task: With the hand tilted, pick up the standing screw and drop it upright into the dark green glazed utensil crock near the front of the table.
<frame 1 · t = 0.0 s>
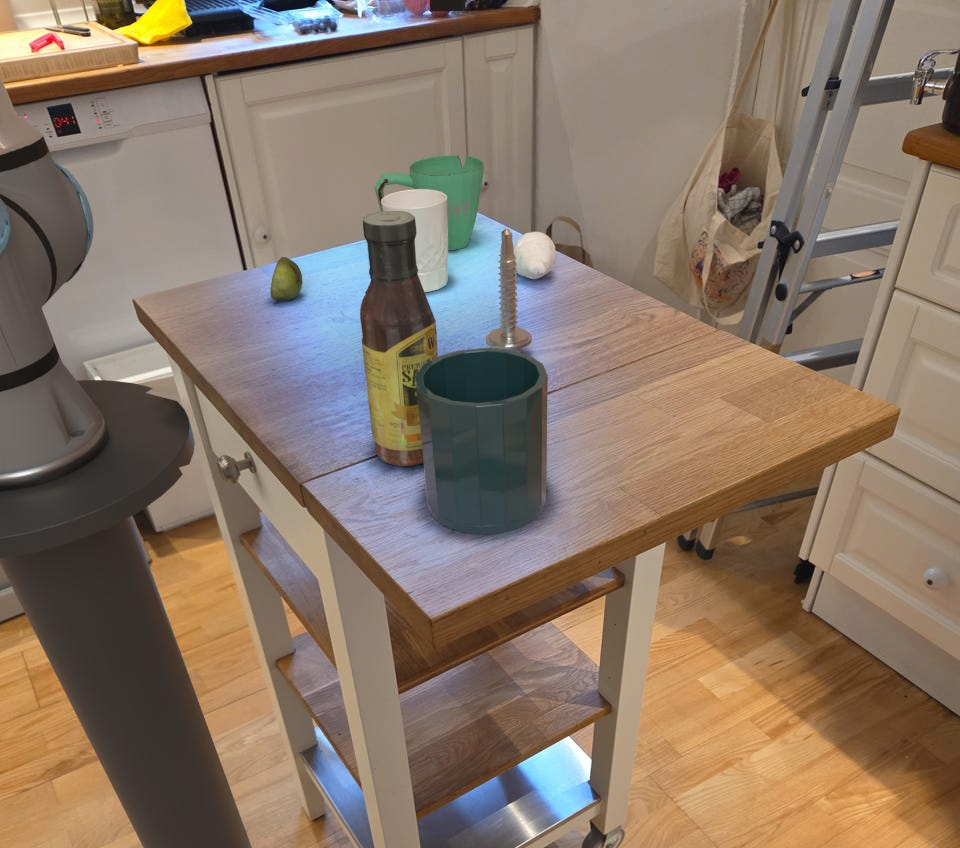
hand: (470, 0, 74), 31 cm above the kitchen island, tool pointing down, fingers open, 13 cm apart
sauce bottle: (410, 453, 80), on the kitchen island
white cup: (421, 285, 111), on the kitchen island
crock: (486, 500, 73), on the kitchen island
garlic bulb: (535, 283, 110), on the kitchen island
lime: (288, 301, 109), on the kitchen island
screw: (509, 358, 94), on the kitchen island
mug: (434, 247, 122), on the kitchen island
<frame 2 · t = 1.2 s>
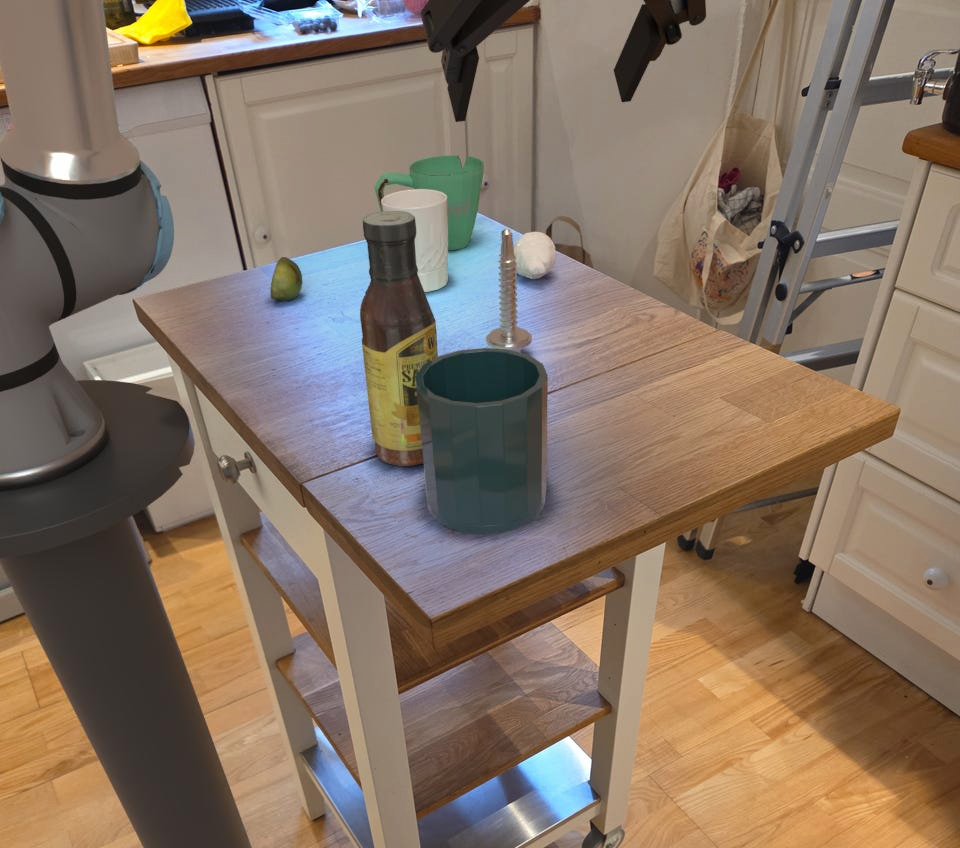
hand: (540, 95, 68), 26 cm above the kitchen island, tool tilted 45°, fingers open, 13 cm apart
nothing on the kitchen island moved.
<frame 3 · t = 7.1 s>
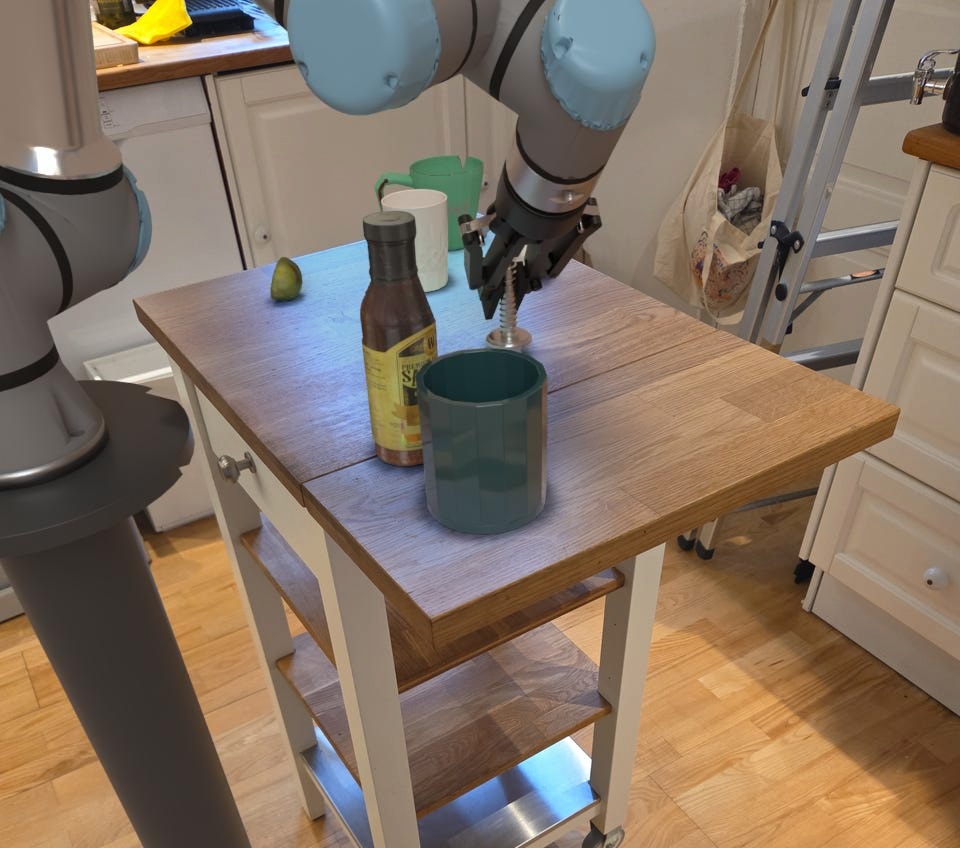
hand: (497, 305, 94), 4 cm above the kitchen island, tool tilted 45°, fingers closed on screw, 2 cm apart
screw: (509, 358, 94), on the kitchen island, touching gripper
everything else where it was.
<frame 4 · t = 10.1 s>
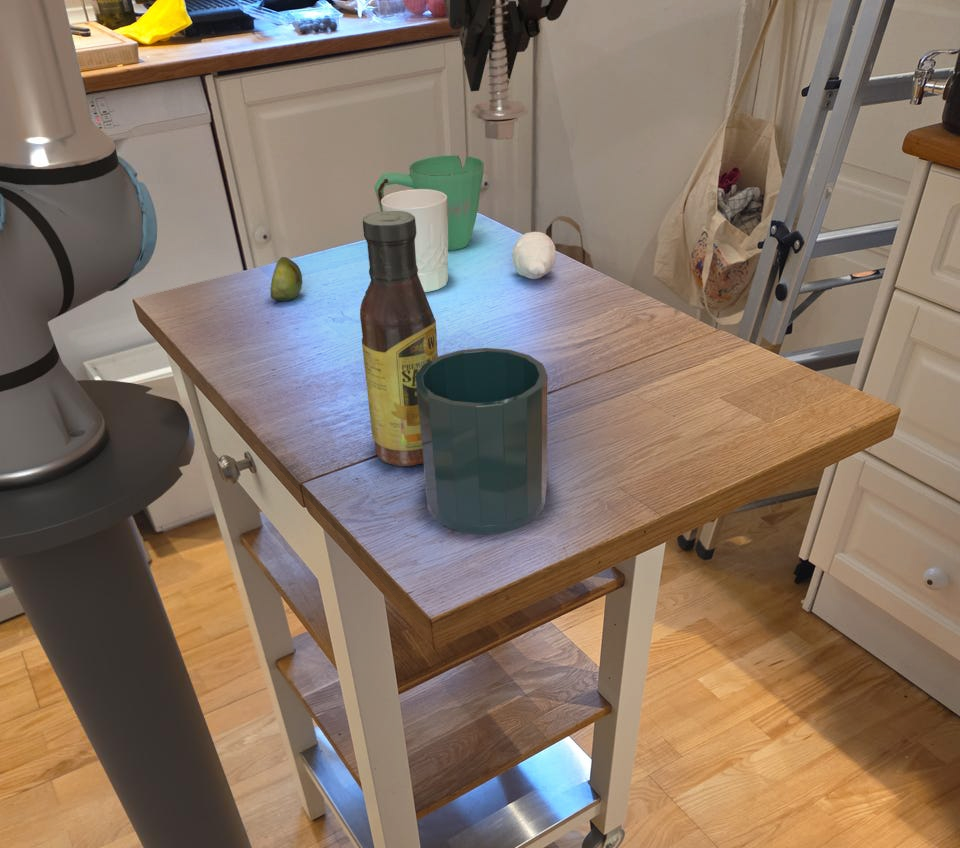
hand: (485, 74, 77), 26 cm above the kitchen island, tool tilted 45°, fingers closed on screw, 2 cm apart
screw: (499, 139, 78), point 21 cm above the kitchen island, touching gripper
everything else where it was.
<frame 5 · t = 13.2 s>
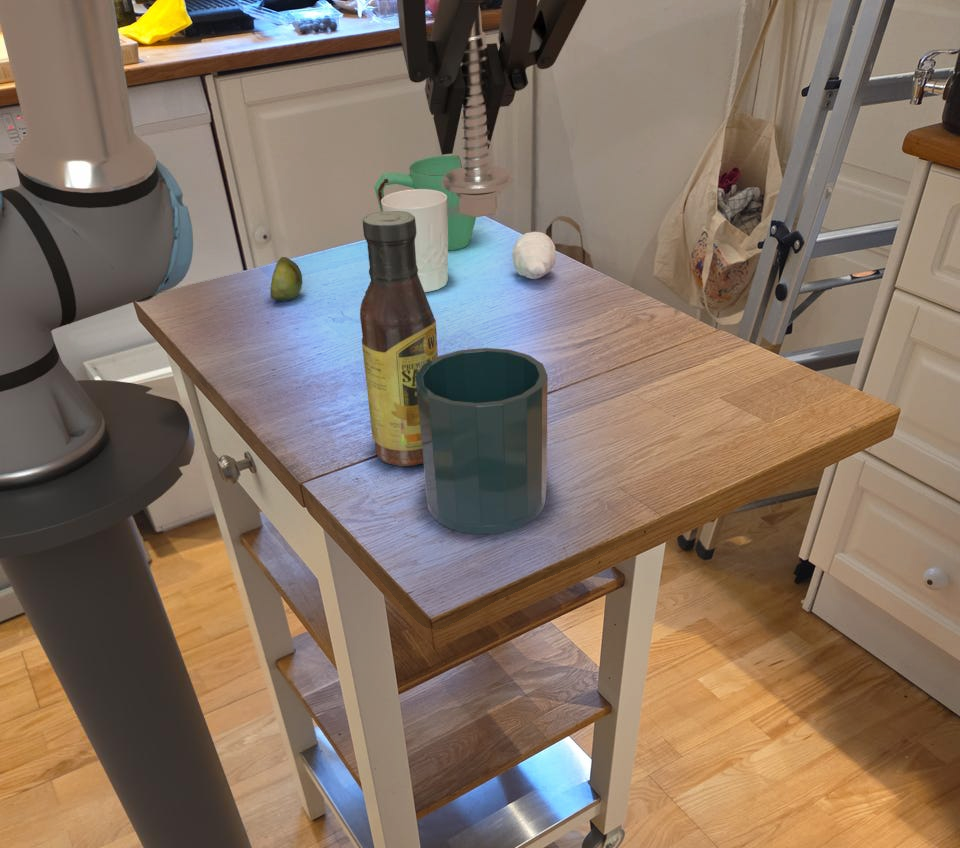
hand: (461, 133, 61), 26 cm above the kitchen island, tool tilted 45°, fingers closed on screw, 2 cm apart
screw: (479, 214, 61), point 21 cm above the kitchen island, touching gripper
everything else where it was.
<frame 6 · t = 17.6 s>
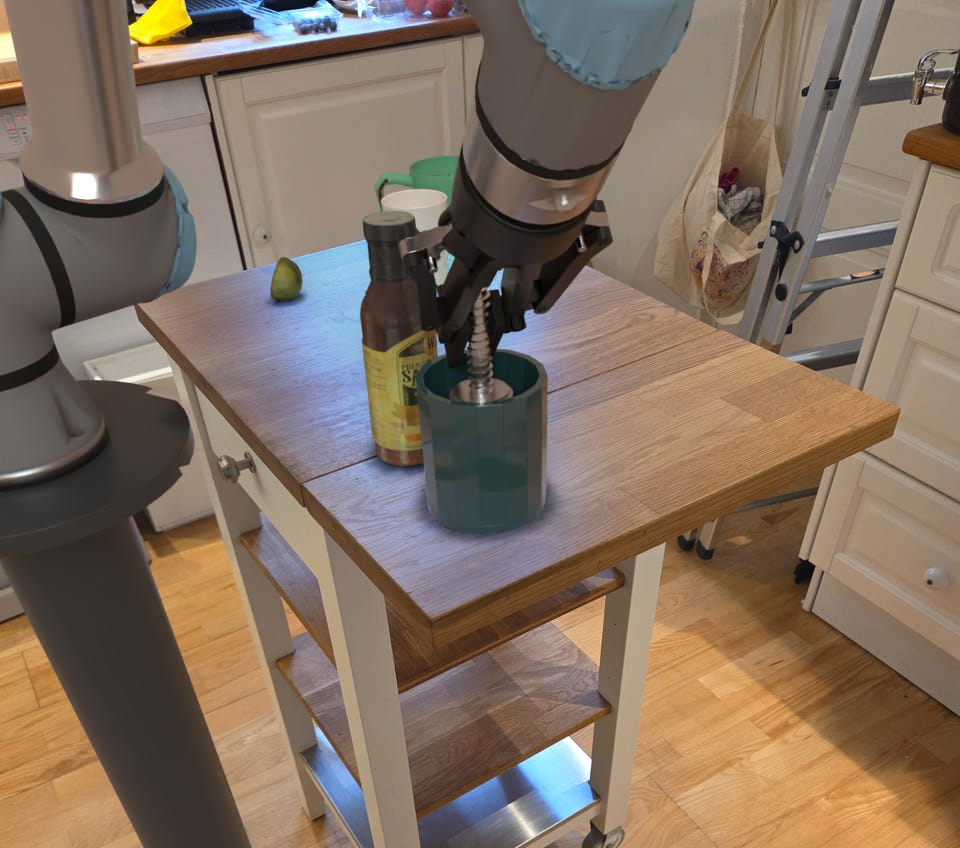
hand: (466, 347, 68), 12 cm above the kitchen island, tool tilted 45°, fingers closed on screw, 2 cm apart
screw: (482, 421, 68), point 7 cm above the kitchen island, touching gripper
everything else where it was.
when the fingers open (13 cm above the kitchen island, at t = 19.4 s): screw drops 8 cm, resting on crock.
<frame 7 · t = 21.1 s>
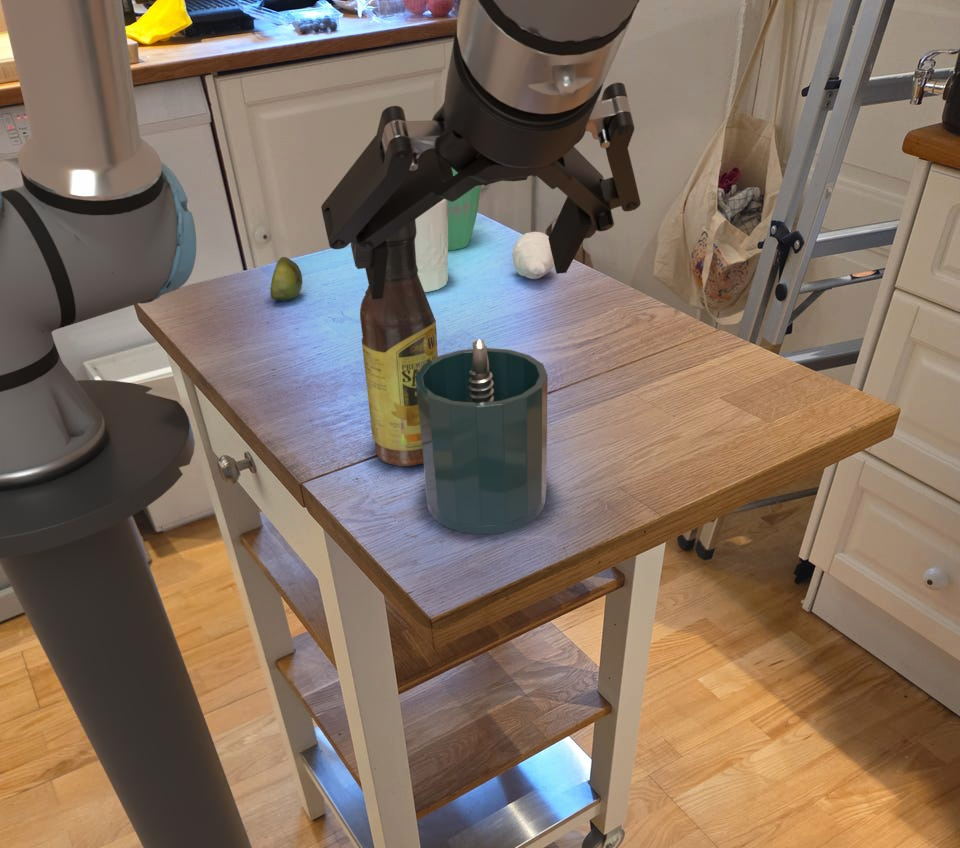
hand: (466, 268, 63), 18 cm above the kitchen island, tool tilted 45°, fingers open, 13 cm apart
screw: (485, 494, 73), point 1 cm above the kitchen island, touching crock
everything else where it was.
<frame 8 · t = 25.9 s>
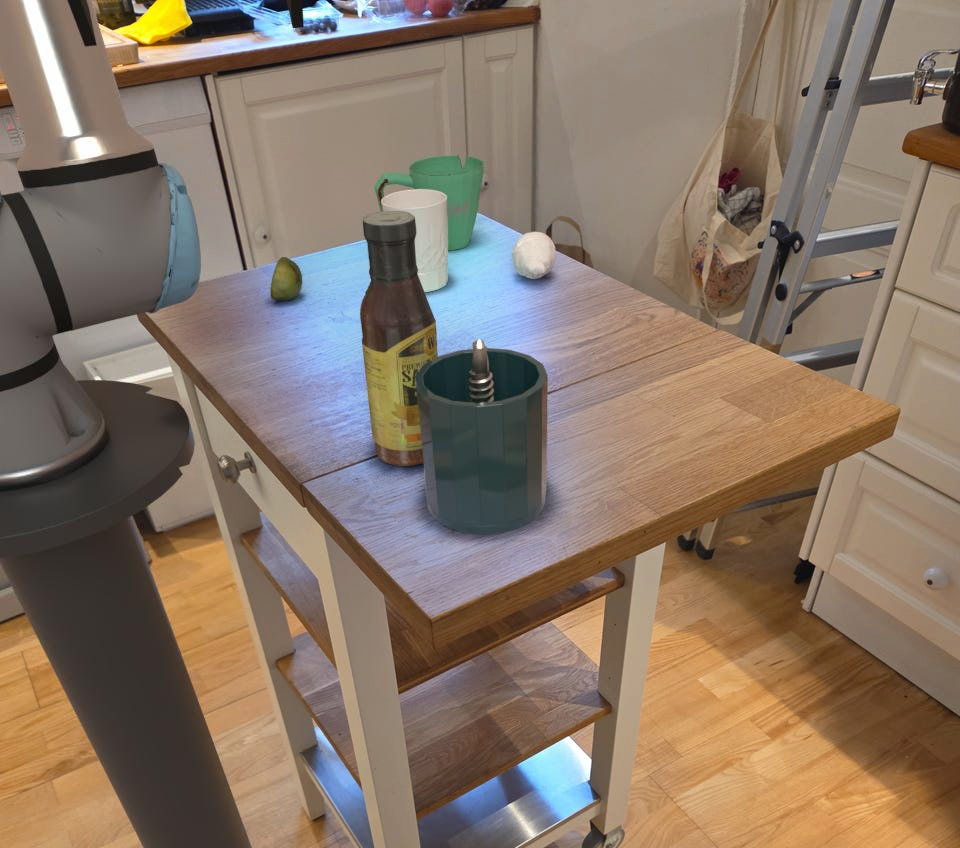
hand: (192, 18, 59), 33 cm above the kitchen island, tool tilted 45°, fingers open, 13 cm apart
nothing on the kitchen island moved.
at the end: screw inside the target area in the crock (0.0 cm from its centre), point 0.6 cm above the crock's base; the gripper is holding nothing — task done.
